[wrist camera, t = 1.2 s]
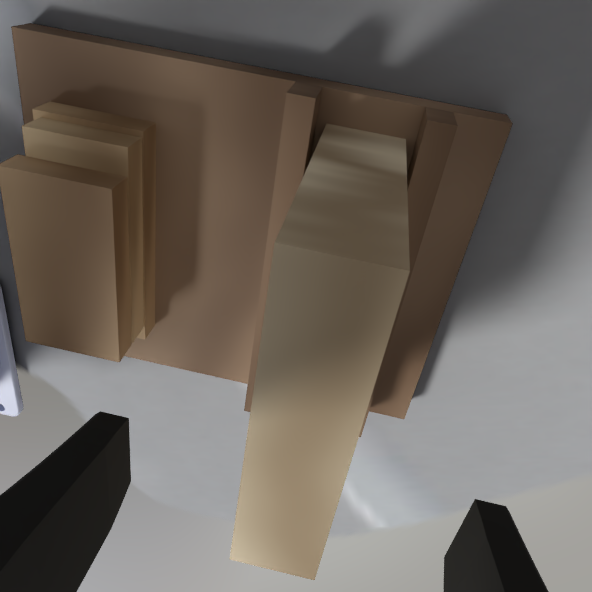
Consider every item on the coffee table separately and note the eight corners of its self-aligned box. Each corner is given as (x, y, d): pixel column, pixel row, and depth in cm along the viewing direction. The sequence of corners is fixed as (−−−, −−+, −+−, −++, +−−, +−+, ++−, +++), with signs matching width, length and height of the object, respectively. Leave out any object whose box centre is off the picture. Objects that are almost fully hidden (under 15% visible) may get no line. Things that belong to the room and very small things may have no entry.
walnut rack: (64, 326, 24) (31, 361, 21) (30, 23, 17) (-22, 32, 15) (404, 401, 23) (404, 447, 21) (506, 114, 16) (522, 138, 14)
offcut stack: (70, 305, 22) (27, 352, 19) (50, 101, 17) (-10, 126, 15) (154, 324, 21) (122, 373, 19) (155, 122, 17) (113, 151, 14)
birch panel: (282, 372, 22) (229, 559, 15) (326, 123, 16) (274, 242, 9) (340, 385, 21) (314, 580, 15) (405, 139, 16) (410, 271, 9)
